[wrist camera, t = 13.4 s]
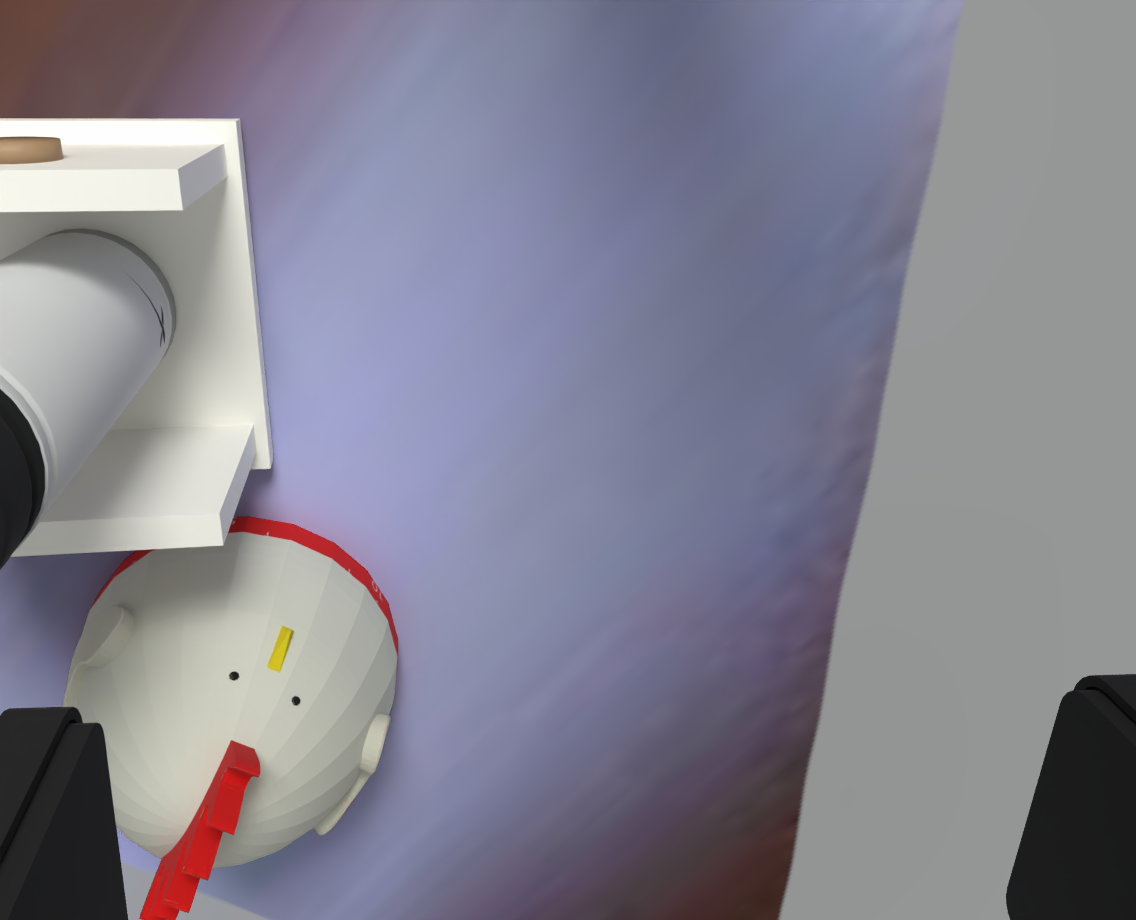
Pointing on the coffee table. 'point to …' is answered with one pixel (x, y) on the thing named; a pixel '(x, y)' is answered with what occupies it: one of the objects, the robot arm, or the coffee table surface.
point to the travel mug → (70, 360)
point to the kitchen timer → (235, 696)
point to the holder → (203, 322)
